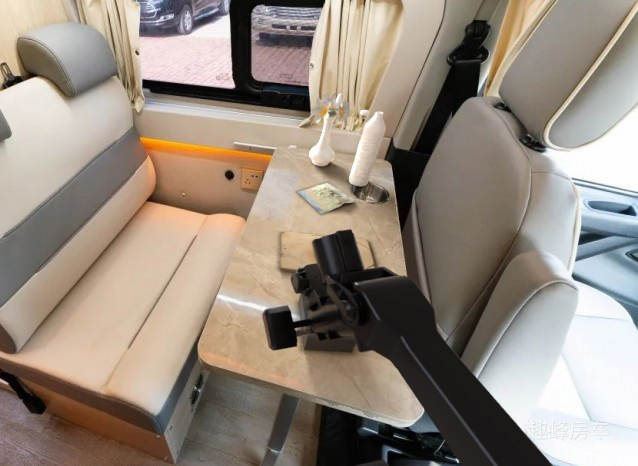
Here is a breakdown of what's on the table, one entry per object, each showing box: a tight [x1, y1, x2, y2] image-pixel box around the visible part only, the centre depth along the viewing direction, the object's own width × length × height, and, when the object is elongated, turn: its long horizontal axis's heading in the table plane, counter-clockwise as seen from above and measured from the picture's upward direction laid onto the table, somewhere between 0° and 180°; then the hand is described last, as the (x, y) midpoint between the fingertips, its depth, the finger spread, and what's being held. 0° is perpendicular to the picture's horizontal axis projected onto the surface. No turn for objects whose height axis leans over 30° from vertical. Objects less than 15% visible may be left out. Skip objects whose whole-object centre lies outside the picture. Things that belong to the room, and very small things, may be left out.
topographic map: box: [297, 182, 355, 215], centre depth 109 cm, size 14×14×2 cm
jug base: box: [297, 293, 357, 353], centre depth 71 cm, size 12×10×7 cm
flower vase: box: [309, 93, 351, 167], centre depth 119 cm, size 13×18×25 cm
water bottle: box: [348, 109, 387, 187], centre depth 108 cm, size 9×6×25 cm
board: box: [279, 230, 377, 273], centre depth 89 cm, size 25×15×3 cm, turn 82°
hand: (306, 324), depth 59 cm, fingers open, 9 cm apart
